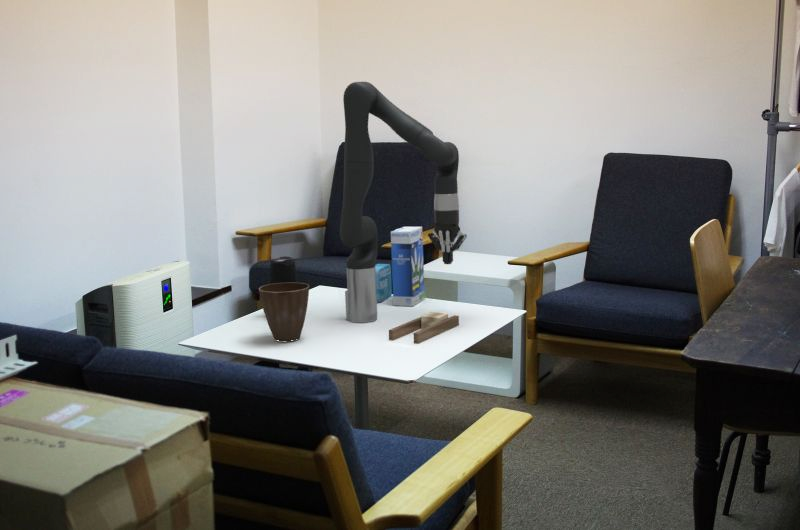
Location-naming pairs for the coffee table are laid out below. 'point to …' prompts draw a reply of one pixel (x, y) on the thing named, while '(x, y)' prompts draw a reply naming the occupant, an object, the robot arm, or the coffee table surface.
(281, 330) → the plant pot
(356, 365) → the coffee table surface
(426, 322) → the maple block
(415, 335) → the walnut chute
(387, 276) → the data package
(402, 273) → the string lights box
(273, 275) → the portable speaker
